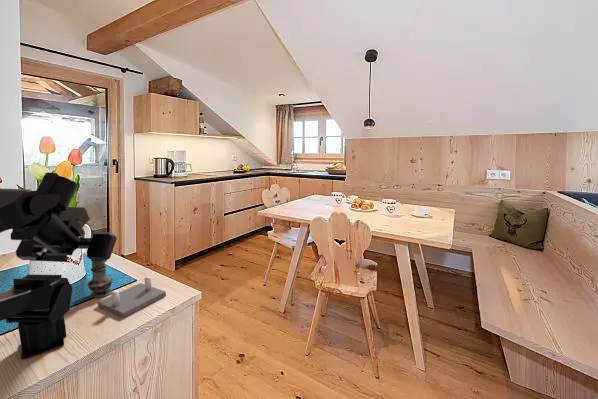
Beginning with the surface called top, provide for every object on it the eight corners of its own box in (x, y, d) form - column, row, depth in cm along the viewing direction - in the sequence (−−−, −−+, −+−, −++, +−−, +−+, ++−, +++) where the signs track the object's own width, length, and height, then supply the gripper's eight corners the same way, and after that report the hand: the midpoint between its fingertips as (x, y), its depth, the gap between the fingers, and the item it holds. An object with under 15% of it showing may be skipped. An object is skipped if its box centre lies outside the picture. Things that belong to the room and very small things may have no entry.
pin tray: (123, 317, 71) (122, 299, 70) (98, 306, 75) (96, 289, 74) (165, 295, 81) (165, 279, 80) (141, 286, 86) (140, 271, 85)
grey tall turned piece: (118, 289, 84) (115, 248, 81) (103, 300, 78) (99, 256, 76) (99, 287, 84) (95, 247, 82) (82, 298, 78) (77, 255, 76)
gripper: (109, 199, 67) (134, 231, 80) (19, 197, 65) (60, 231, 78) (91, 244, 60) (122, 272, 73) (-9, 243, 59) (40, 272, 72)
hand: (86, 260), depth 74 cm, fingers open, 9 cm apart
